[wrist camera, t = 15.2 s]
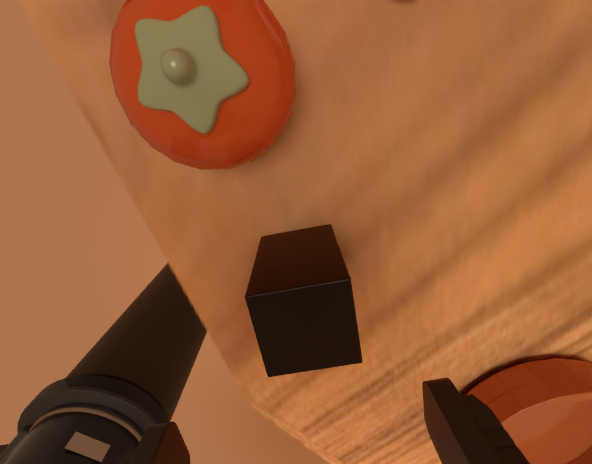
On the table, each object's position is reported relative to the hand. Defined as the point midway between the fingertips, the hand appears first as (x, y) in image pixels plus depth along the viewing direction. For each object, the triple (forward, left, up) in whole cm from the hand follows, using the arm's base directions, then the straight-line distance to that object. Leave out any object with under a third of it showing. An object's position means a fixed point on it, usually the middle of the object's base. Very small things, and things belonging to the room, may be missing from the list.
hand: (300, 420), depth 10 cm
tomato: (-2, +11, -11) cm, 16 cm away
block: (0, 0, -11) cm, 11 cm away
